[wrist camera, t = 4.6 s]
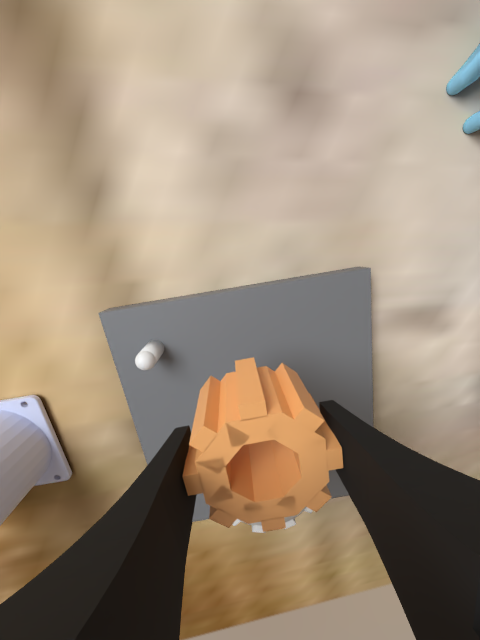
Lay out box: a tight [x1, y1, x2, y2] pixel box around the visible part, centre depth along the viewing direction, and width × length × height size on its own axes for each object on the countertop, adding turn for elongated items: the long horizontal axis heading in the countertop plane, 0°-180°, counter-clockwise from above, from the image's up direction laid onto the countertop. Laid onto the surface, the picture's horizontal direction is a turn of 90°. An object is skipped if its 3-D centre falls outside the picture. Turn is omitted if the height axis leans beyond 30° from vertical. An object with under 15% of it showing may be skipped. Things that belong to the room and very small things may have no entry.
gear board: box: [99, 267, 373, 533], centre depth 18 cm, size 18×19×4 cm
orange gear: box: [182, 357, 343, 532], centre depth 10 cm, size 6×6×4 cm
